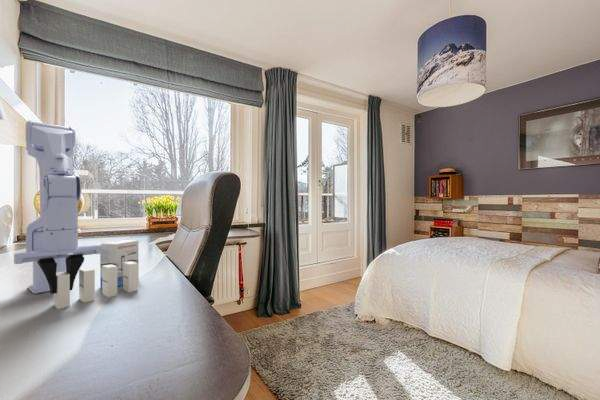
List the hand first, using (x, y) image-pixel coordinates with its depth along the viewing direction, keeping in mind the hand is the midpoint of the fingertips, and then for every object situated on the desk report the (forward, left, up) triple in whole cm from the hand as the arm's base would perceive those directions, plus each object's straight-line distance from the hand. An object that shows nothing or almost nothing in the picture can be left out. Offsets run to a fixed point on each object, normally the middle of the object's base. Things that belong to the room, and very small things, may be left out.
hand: (61, 291), depth 61 cm
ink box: (-9, +15, -3) cm, 17 cm away
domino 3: (0, +9, -3) cm, 10 cm away
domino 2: (0, +5, -3) cm, 6 cm away
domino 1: (0, 0, -3) cm, 3 cm away
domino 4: (0, +14, -3) cm, 14 cm away
